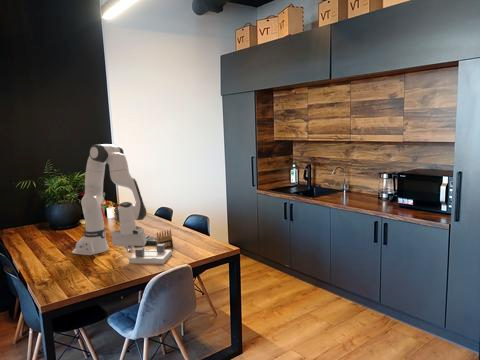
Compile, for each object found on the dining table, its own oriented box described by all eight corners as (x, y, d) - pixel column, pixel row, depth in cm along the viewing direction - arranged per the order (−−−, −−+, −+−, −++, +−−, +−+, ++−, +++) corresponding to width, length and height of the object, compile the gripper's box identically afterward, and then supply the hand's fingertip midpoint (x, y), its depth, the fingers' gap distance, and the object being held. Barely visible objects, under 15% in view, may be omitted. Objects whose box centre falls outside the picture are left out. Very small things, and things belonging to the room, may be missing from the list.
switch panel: (129, 262, 219) (128, 257, 218) (139, 253, 233) (139, 249, 233) (163, 263, 215) (163, 258, 215) (172, 254, 230) (171, 249, 230)
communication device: (158, 247, 245) (157, 234, 244) (124, 246, 249) (123, 233, 248) (164, 241, 257) (164, 229, 256) (132, 240, 261) (131, 228, 260)
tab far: (156, 251, 225) (156, 245, 225) (159, 249, 229) (158, 243, 228) (163, 252, 225) (162, 245, 224) (165, 250, 228) (164, 243, 228)
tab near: (135, 256, 219) (135, 250, 219) (138, 254, 223) (137, 247, 222) (142, 256, 219) (141, 250, 218) (144, 254, 222) (144, 248, 222)
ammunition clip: (157, 250, 238) (156, 232, 236) (156, 249, 240) (155, 231, 238) (173, 246, 244) (171, 229, 242) (172, 246, 246) (170, 228, 244)
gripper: (109, 231, 218) (111, 254, 220) (142, 231, 215) (144, 254, 217) (114, 228, 224) (116, 250, 226) (146, 228, 221) (148, 250, 223)
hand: (130, 252), depth 221 cm, fingers closed
